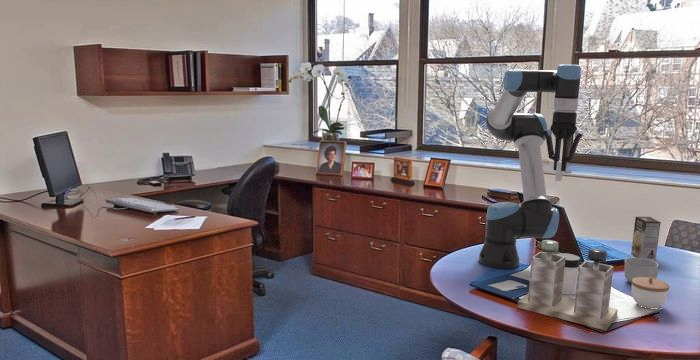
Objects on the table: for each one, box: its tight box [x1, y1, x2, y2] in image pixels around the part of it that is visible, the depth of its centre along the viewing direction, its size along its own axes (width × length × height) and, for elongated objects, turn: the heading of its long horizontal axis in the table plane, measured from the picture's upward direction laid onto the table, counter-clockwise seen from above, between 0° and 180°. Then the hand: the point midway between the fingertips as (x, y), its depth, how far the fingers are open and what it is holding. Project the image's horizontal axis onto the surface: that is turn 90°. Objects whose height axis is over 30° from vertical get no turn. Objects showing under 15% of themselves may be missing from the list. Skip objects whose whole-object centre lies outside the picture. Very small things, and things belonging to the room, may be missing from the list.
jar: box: [555, 252, 581, 296], centre depth 196 cm, size 9×8×12 cm
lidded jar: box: [631, 277, 670, 309], centre depth 185 cm, size 11×11×9 cm
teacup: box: [623, 255, 660, 284], centre depth 208 cm, size 14×11×8 cm
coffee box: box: [631, 216, 662, 261], centre depth 236 cm, size 9×6×16 cm
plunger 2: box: [587, 248, 608, 271], centre depth 173 cm, size 6×6×17 cm
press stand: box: [517, 251, 619, 331], centre depth 178 cm, size 26×14×16 cm, turn 54°
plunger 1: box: [540, 239, 560, 261], centre depth 181 cm, size 6×6×17 cm
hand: (558, 180), depth 200 cm, fingers closed
